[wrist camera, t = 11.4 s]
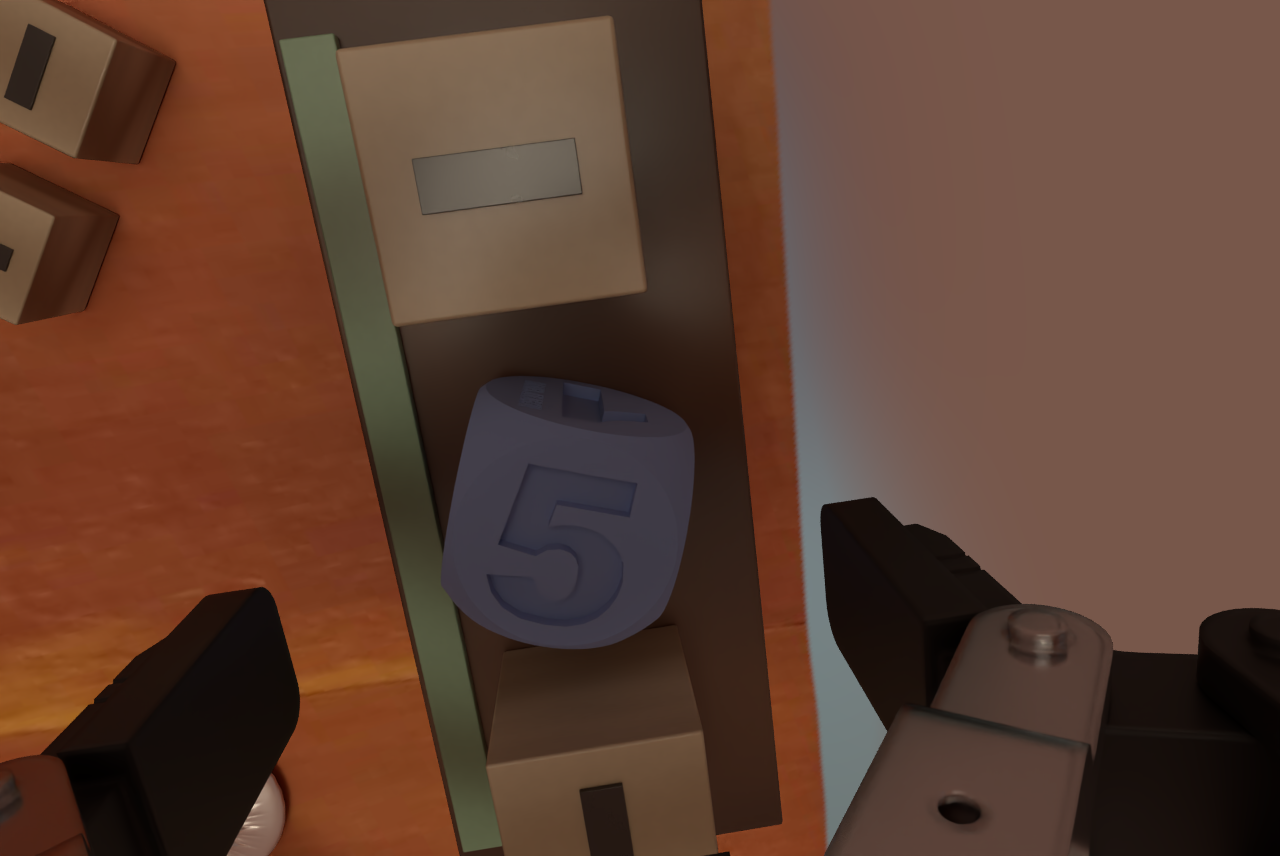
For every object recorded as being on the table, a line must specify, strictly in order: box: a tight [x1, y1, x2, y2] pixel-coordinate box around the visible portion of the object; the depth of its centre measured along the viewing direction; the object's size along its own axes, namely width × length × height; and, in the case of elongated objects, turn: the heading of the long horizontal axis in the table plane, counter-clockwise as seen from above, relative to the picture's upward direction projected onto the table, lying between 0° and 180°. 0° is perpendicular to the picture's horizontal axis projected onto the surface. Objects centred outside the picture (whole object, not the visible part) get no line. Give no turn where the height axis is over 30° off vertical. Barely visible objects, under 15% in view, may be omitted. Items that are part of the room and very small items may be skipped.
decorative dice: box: [441, 376, 695, 649], centre depth 16 cm, size 4×4×4 cm
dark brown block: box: [264, 0, 782, 856], centre depth 23 cm, size 20×8×20 cm, turn 7°
